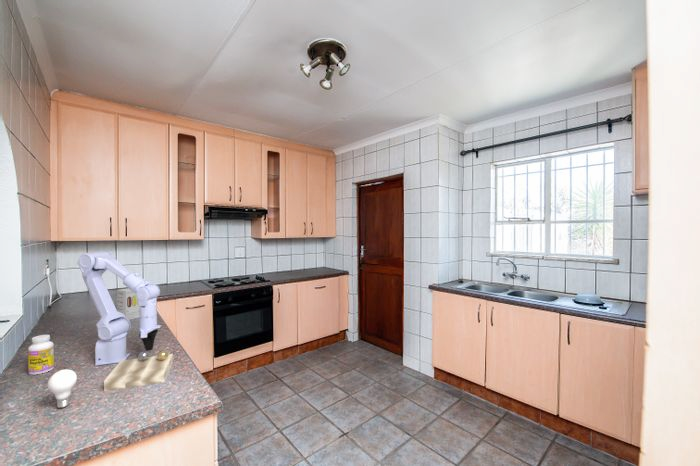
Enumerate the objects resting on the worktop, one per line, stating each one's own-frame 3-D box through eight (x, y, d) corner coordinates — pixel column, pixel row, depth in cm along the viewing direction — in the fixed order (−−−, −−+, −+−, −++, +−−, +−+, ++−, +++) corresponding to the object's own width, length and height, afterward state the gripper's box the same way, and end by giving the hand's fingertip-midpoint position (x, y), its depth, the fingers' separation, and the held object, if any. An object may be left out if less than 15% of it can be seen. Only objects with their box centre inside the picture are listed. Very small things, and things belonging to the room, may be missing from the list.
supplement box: (125, 321, 172) (125, 291, 172) (116, 318, 176) (115, 289, 176) (143, 316, 181) (143, 288, 181) (134, 314, 185) (133, 286, 185)
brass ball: (156, 362, 113) (156, 353, 113) (158, 358, 116) (158, 349, 116) (167, 361, 114) (167, 351, 114) (169, 357, 117) (168, 348, 117)
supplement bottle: (24, 377, 109) (23, 341, 109) (33, 369, 115) (32, 335, 115) (50, 373, 112) (49, 338, 112) (57, 365, 118) (56, 332, 118)
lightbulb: (61, 401, 94) (60, 365, 94) (83, 400, 95) (82, 365, 94) (42, 414, 88) (41, 376, 87) (65, 413, 88) (64, 375, 88)
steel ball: (136, 363, 112) (136, 353, 112) (139, 359, 116) (139, 350, 115) (148, 361, 114) (147, 352, 113) (150, 357, 117) (150, 348, 117)
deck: (104, 391, 100) (103, 380, 100) (121, 369, 115) (120, 360, 115) (164, 382, 106) (164, 372, 106) (173, 362, 121) (172, 353, 121)
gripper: (155, 319, 116) (156, 355, 116) (163, 309, 129) (164, 341, 130) (133, 322, 113) (134, 358, 114) (144, 311, 127) (145, 344, 127)
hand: (149, 349), depth 122 cm, fingers closed
